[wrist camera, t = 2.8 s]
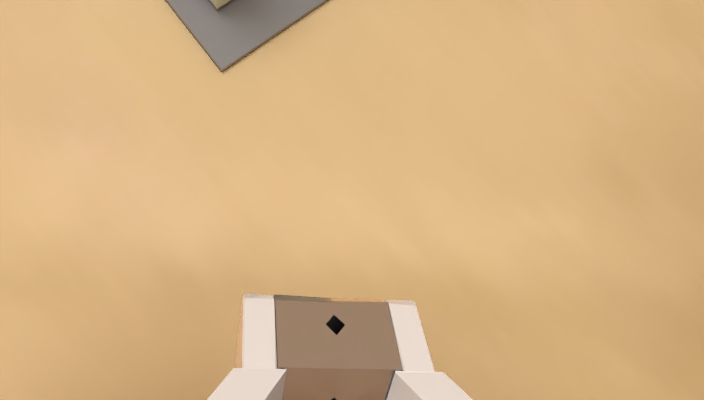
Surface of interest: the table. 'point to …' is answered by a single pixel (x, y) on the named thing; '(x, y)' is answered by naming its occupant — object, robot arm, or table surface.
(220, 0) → the gate
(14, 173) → the table surface
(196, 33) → the board
